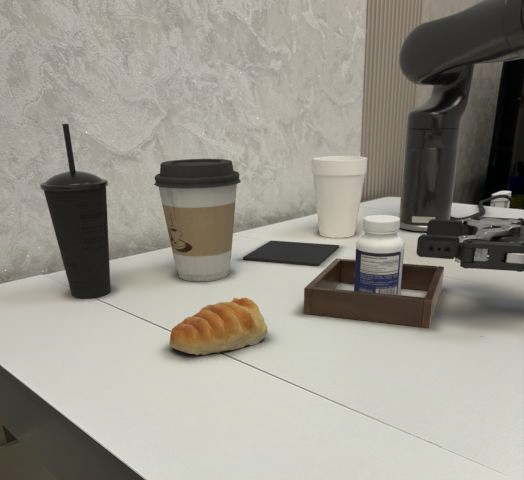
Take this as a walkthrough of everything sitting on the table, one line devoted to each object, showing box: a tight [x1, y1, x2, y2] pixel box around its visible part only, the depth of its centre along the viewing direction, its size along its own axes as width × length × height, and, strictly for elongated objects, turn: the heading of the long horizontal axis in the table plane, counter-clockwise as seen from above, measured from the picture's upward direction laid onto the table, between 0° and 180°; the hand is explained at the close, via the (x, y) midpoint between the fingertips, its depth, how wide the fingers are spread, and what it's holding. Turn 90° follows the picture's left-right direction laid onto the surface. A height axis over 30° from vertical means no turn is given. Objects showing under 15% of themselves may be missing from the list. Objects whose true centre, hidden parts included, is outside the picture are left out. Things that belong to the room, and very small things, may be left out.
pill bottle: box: [353, 214, 405, 295], centre depth 63 cm, size 5×5×10 cm
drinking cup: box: [39, 123, 112, 299], centre depth 66 cm, size 8×8×20 cm
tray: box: [303, 257, 445, 329], centre depth 64 cm, size 14×14×3 cm
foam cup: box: [311, 155, 368, 239], centre depth 97 cm, size 10×9×13 cm
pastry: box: [169, 297, 268, 357], centre depth 54 cm, size 9×7×4 cm
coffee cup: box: [153, 158, 242, 282], centre depth 74 cm, size 11×11×15 cm
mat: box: [242, 240, 340, 267], centre depth 87 cm, size 12×12×1 cm
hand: (422, 236), depth 60 cm, fingers open, 8 cm apart
